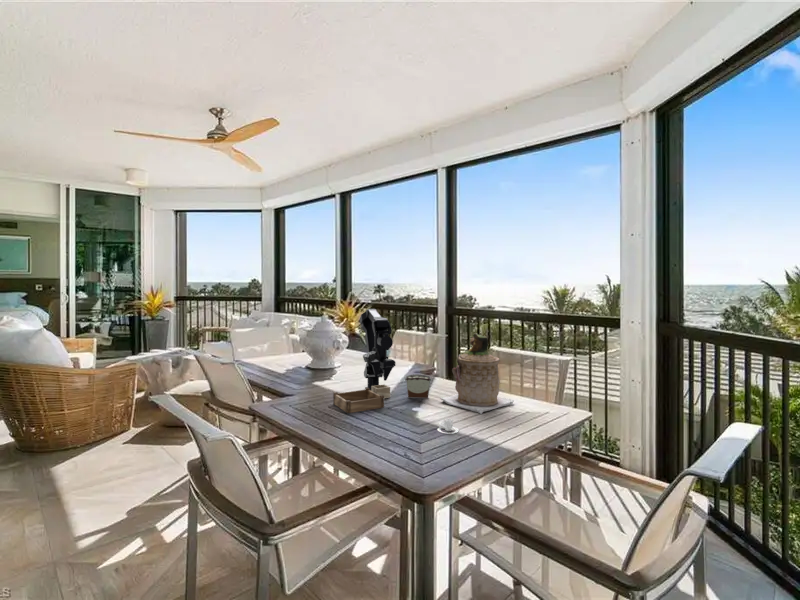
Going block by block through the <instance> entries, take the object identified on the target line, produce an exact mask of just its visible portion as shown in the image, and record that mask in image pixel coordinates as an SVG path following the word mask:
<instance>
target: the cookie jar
mask: <svg viewBox="0 0 800 600" xmlns="http://www.w3.org/2000/svg"><path fill="white" fill-rule="evenodd" d="M472 336H473V337H471V338H470V341H469V344H470V345H471V346H472V347H470V348H469V349H468V350H466V351H464V353H463V354H458V356H457V358H456V362H457V365H456V367H453V368H452V370H451V371H452V374H453V376H454V379H456V380H455V388H454V389H455V391H456V392H457V394H456V393H455V394H453V395H449V396H445V397H443V396H442V397H439V399H440V400H441V401H443V402H444V403H446V404H447V405H451V406H454V407H457V408H462V409H465V410H469V411H472V412H474V413H475V412H476V413H479V414H480V415H482V414H483V413H484V412H488V411H491V410H496V409H497V408H499V409H500V408H502V407H505V406H511V405H514V401H515V400H514V399H511V398H505V397H500V396H498V395H499V392H500V377H499V367H498V365H499V363H500V362H501V360H500V359H501V358H499V357H497V356H493V355H492V354H490V353H489V352H488V348H489V339H488V337H486V336H484V335H481V334H478V333H473V335H472Z"/></svg>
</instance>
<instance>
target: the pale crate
mask: <svg viewBox="0 0 800 600" xmlns="http://www.w3.org/2000/svg"><path fill="white" fill-rule="evenodd" d="M371 391H373V392H375V393H377V394H378V395H380V396H381V395H383V396H384V399H387V398H388V399H389V398H391V387H390V386H389V385H387V384H385V383H383V384H379V385H376V386H371Z"/></svg>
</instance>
